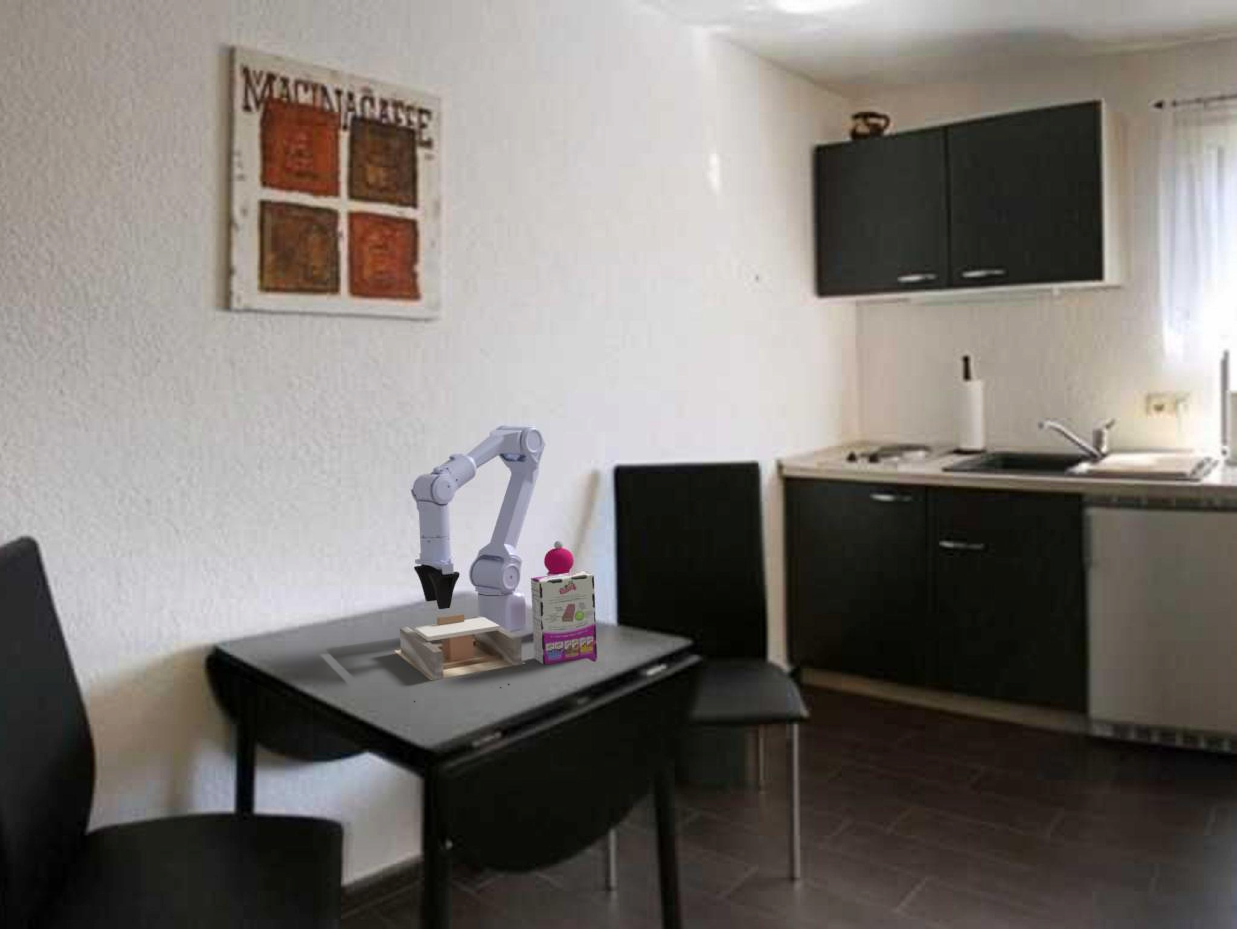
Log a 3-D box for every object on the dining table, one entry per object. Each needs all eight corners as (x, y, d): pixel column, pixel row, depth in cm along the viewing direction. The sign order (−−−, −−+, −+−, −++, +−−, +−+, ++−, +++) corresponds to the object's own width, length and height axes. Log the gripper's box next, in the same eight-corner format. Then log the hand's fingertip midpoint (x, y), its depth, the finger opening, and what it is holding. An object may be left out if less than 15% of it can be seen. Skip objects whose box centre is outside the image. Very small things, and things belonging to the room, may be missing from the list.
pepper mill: (543, 633, 205) (540, 538, 203) (577, 632, 205) (575, 537, 203) (543, 642, 197) (540, 544, 196) (579, 641, 198) (576, 543, 196)
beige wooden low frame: (481, 641, 199) (480, 613, 199) (526, 668, 180) (525, 637, 180) (394, 655, 190) (392, 626, 190) (431, 685, 171) (430, 652, 171)
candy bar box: (586, 654, 189) (584, 569, 187) (597, 660, 184) (595, 574, 183) (532, 663, 184) (529, 576, 182) (543, 669, 179) (540, 581, 178)
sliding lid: (484, 621, 192) (483, 610, 191) (500, 629, 185) (499, 618, 184) (414, 631, 185) (413, 620, 184) (428, 641, 178) (427, 629, 178)
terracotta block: (465, 652, 188) (464, 629, 188) (473, 657, 184) (472, 634, 184) (442, 655, 186) (441, 632, 186) (450, 661, 182) (449, 637, 182)
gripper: (403, 532, 195) (406, 600, 196) (426, 542, 182) (429, 614, 184) (437, 529, 198) (440, 595, 200) (462, 539, 186) (465, 609, 187)
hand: (437, 604), depth 192 cm, fingers open, 7 cm apart
